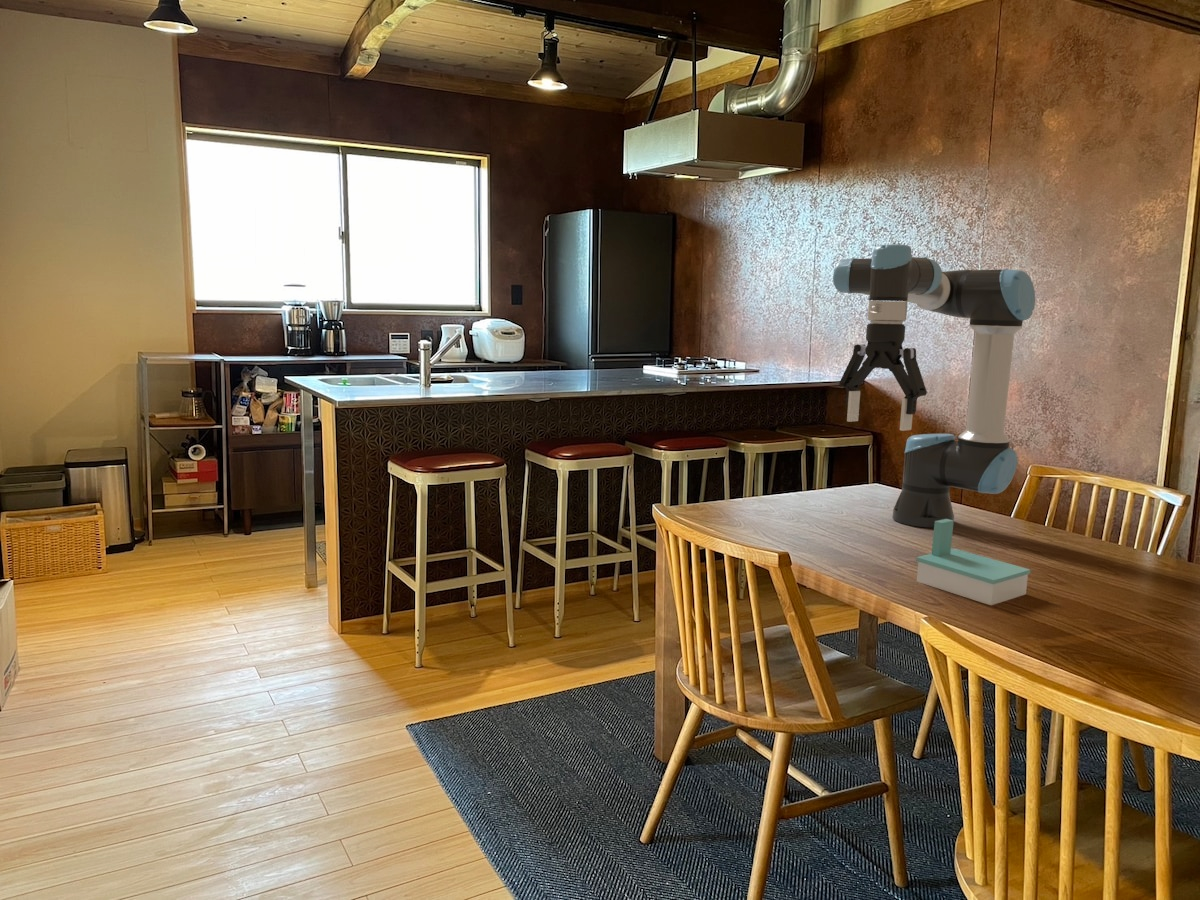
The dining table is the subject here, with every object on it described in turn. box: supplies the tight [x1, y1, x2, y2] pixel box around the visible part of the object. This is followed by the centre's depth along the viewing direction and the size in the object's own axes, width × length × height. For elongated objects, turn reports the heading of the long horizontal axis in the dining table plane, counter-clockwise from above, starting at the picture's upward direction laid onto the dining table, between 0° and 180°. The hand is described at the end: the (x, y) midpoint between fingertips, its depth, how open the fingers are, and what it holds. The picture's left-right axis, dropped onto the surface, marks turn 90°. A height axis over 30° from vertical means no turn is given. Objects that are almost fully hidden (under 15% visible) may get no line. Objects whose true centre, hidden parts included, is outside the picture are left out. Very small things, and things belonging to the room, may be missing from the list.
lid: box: [915, 519, 1031, 584], centre depth 169 cm, size 13×17×8 cm
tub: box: [916, 561, 1029, 606], centre depth 170 cm, size 12×16×5 cm
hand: (878, 425), depth 179 cm, fingers open, 13 cm apart
